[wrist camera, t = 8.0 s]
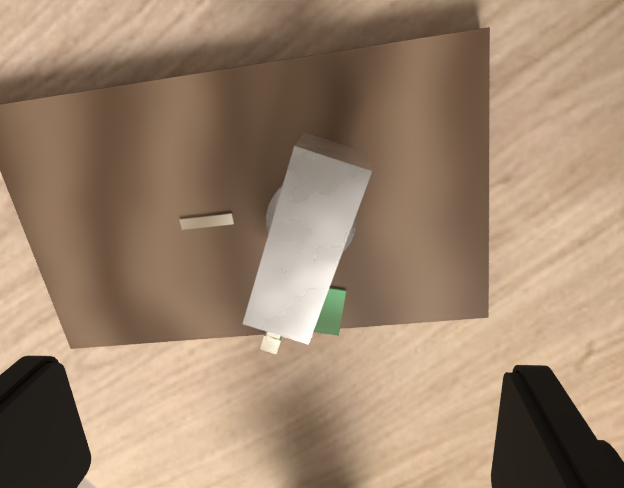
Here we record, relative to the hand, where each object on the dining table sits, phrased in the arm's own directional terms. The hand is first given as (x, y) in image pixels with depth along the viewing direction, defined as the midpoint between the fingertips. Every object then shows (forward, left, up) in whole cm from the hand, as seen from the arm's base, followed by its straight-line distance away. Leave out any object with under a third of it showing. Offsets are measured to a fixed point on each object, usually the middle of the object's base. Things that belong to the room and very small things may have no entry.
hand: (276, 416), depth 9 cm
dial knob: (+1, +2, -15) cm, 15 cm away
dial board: (+4, 0, -17) cm, 17 cm away
